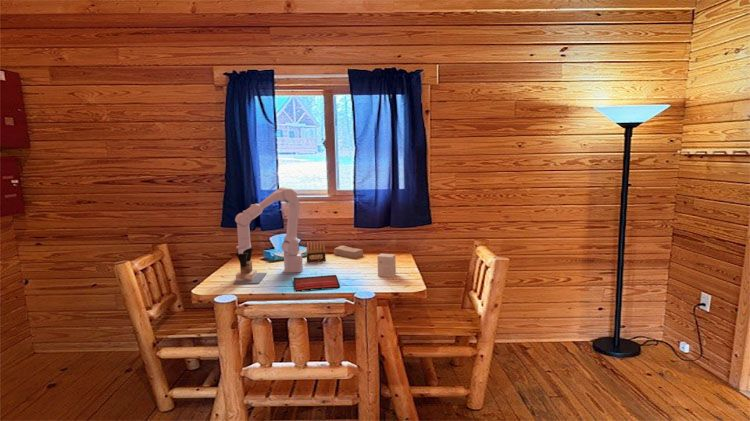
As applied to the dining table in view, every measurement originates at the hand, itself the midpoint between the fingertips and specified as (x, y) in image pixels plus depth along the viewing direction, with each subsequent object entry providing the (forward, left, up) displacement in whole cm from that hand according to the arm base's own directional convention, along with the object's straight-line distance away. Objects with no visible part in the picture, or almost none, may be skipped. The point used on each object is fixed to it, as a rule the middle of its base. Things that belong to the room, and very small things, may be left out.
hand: (245, 264), depth 206 cm
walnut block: (0, 0, -4) cm, 4 cm away
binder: (-36, +10, -8) cm, 38 cm away
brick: (-49, -42, -8) cm, 65 cm away
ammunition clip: (-31, -31, -8) cm, 44 cm away
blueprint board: (-2, 0, -8) cm, 8 cm away
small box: (-70, -2, -8) cm, 70 cm away
